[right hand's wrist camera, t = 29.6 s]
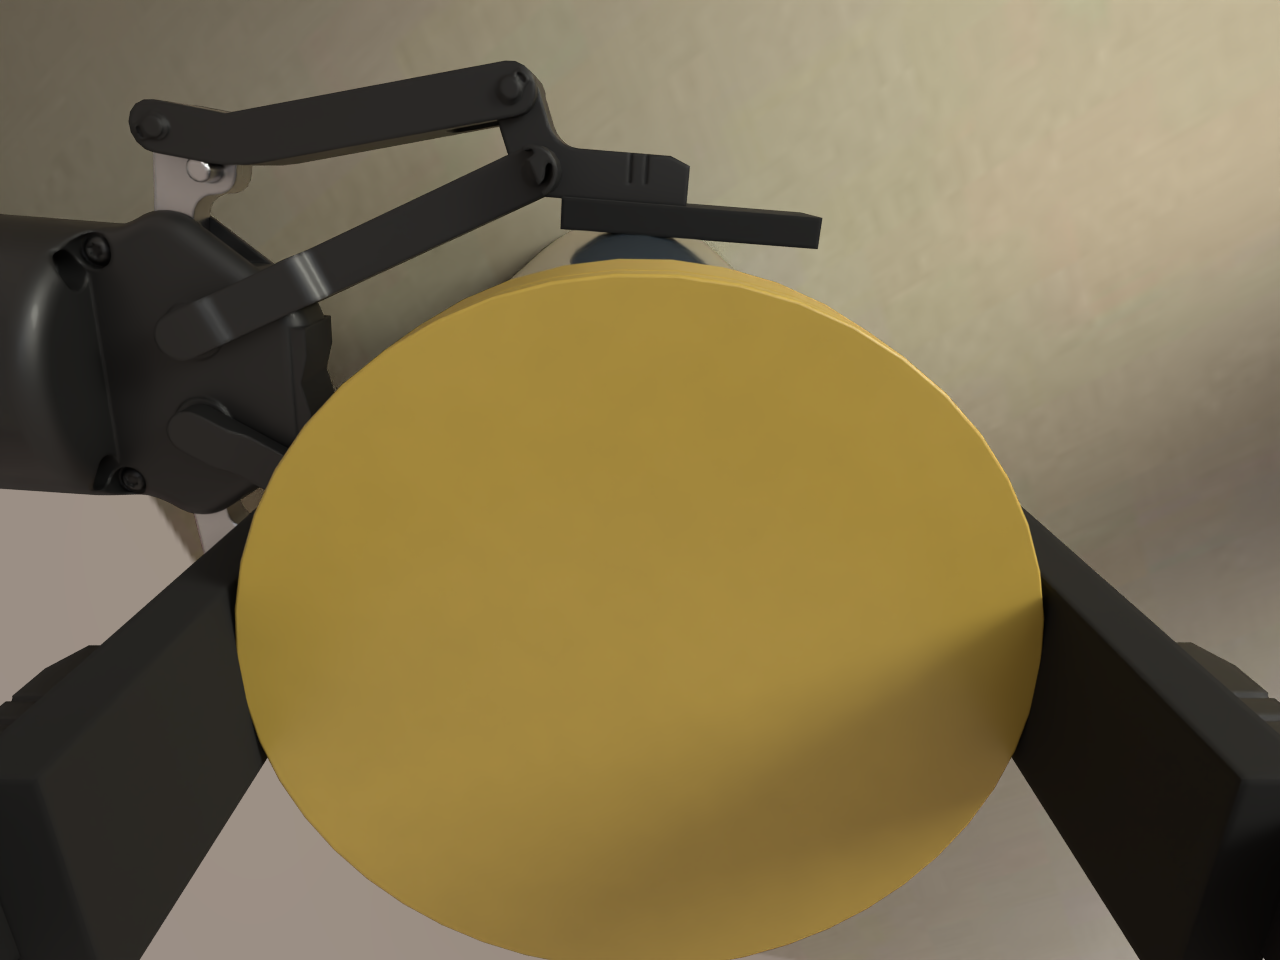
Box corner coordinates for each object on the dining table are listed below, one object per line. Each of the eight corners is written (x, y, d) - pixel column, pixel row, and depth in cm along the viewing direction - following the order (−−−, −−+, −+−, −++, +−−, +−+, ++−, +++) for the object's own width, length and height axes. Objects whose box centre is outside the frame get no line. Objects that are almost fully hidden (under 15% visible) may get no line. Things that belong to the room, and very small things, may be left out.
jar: (447, 310, 28) (219, 484, 13) (674, 162, 27) (733, 153, 11) (589, 516, 31) (547, 865, 16) (802, 394, 30) (995, 647, 14)
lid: (765, 958, 14) (780, 1050, 13) (198, 742, 13) (139, 819, 11) (1143, 475, 11) (1221, 522, 10) (447, 100, 9) (411, 88, 8)
